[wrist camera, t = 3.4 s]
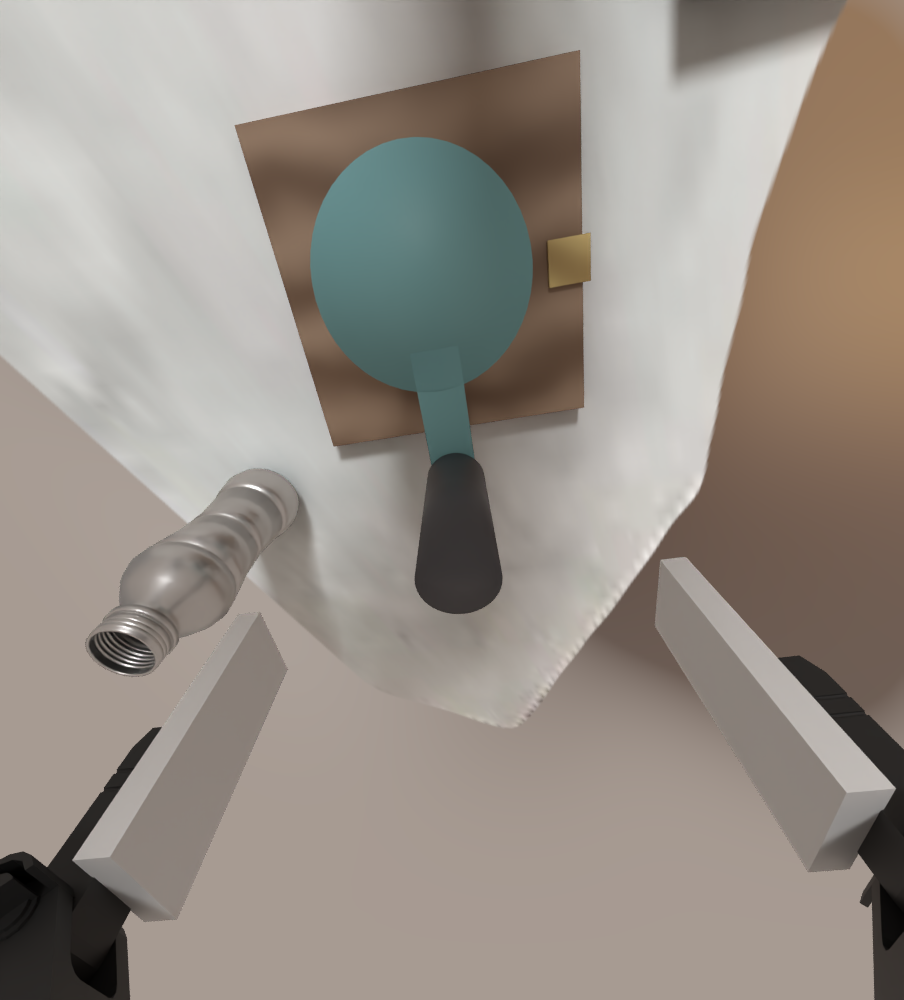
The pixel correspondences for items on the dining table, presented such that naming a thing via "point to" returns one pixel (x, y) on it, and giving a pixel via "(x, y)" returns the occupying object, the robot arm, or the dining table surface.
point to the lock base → (523, 168)
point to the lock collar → (429, 323)
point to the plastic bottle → (192, 573)
